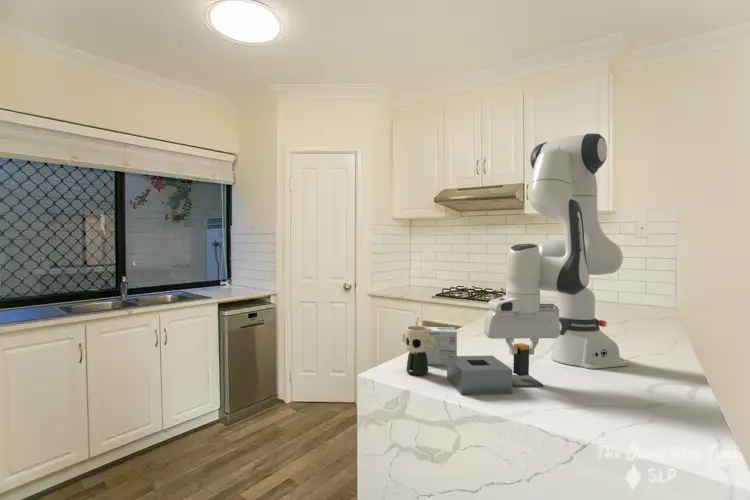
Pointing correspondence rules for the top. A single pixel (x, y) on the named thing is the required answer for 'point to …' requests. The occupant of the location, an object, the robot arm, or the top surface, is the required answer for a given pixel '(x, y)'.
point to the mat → (525, 381)
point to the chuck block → (479, 375)
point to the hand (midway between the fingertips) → (521, 354)
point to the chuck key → (521, 360)
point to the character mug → (417, 348)
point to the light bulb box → (442, 345)
